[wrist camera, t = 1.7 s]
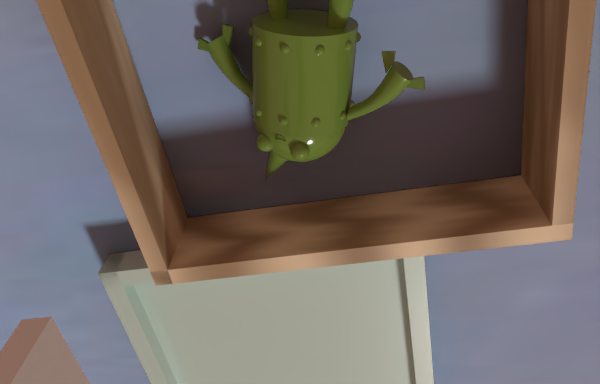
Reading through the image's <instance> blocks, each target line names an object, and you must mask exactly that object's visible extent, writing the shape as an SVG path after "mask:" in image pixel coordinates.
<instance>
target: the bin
mask: <svg viewBox="0 0 600 384" xmlns="http://www.w3.org/2000/svg"><path fill="white" fill-rule="evenodd" d="M36 1H37V3H38V6H39V8H40V11H41V13H42V15H43V18H44V20H45V23H46V25H47V27H48V30H49V32H50V35H51V37H52V39H53V42H54V44H55V46H56V49H57V51H58V54H59V56H60V58H61V61H62V63H63V66H64V68H65V70H66V73H67V75H68V77H69V80H70V82H71V85H72V87H73V89H74V92H75V94H76V97H77V99H78V101H79V104H80V106H81V108H82V111H83V113H84V116H85V118H86V120H87V123H88V125H89V128H90V130H91V132H92V135H93V137H94V139H95V142H96V144H97V147H98V149H99V151H100V154H101V156H102V159H103V161H104V163H105V166H106V168H107V170H108V173H109V175H110V178H111V180H112V182H113V185H114V187H115V190H116V192H117V194H118V197H119V199H120V201H121V204H122V206H123V209H124V211H125V213H126V216H127V218H128V221H129V223H130V225H131V228H132V230H133V233H134V235H135V237H136V240H137V242H138V244H139V247H140V249H141V252H142V254H143V256H144V259H145V261H146V264H147V266H148V268H149V271H150V273H151V275H152V278H153V280H154V283H155V285H156V286H159V285H168V284H177V283H186V282H195V281H203V280H212V279H221V278H230V277H239V276H248V275H257V274H266V273H275V272H284V271H293V270H302V269H311V268H320V267H329V266H338V265H347V264H356V263H365V262H374V261H383V260H392V259H401V258H409V257H418V256H427V255H436V254H445V253H454V252H463V251H472V250H481V249H490V248H499V247H508V246H517V245H526V244H535V243H544V242H553V241H562V240H571V239H572V231H573V221H574V211H575V202H576V192H577V182H578V172H579V163H580V153H581V143H582V134H583V124H584V114H585V104H586V95H587V85H588V75H589V65H590V56H591V46H592V36H593V27H594V17H595V7H596V0H528V10H527V36H526V61H525V87H524V113H523V138H522V164H521V175H519V176H511V177H503V178H495V179H487V180H480V181H472V182H464V183H456V184H448V185H441V186H433V187H425V188H417V189H409V190H401V191H394V192H386V193H378V194H370V195H362V196H355V197H347V198H339V199H331V200H323V201H315V202H308V203H300V204H292V205H284V206H276V207H269V208H261V209H253V210H245V211H237V212H229V213H222V214H214V215H206V216H198V217H190V218H188V217H187V214H186V211H185V208H184V205H183V203H182V200H181V197H180V194H179V191H178V188H177V185H176V182H175V180H174V177H173V174H172V171H171V168H170V165H169V162H168V159H167V157H166V154H165V151H164V148H163V145H162V142H161V139H160V137H159V134H158V131H157V128H156V125H155V122H154V119H153V116H152V114H151V111H150V108H149V105H148V102H147V99H146V96H145V93H144V91H143V88H142V85H141V82H140V79H139V76H138V73H137V70H136V68H135V65H134V62H133V59H132V56H131V53H130V50H129V48H128V45H127V42H126V39H125V36H124V33H123V30H122V27H121V25H120V22H119V19H118V16H117V13H116V10H115V7H114V4H113V2H112V0H36Z"/></svg>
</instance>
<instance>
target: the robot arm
mask: <svg viewBox="0 0 600 384" xmlns="http://www.w3.org/2000/svg"><path fill="white" fill-rule="evenodd" d="M0 384H90V383H89V381H88V379H87V378H86V376H85V374H84V372H83V371H82V369H81V367H80V365H79V364H78V362H77V360H76V359H75V357H74V355H73V353H72V352H71V350H70V348H69V346H68V345H67V343H66V341H65V340H64V338H63V336H62V334H61V333H60V331H59V329H58V327H57V326H56V324H55V322H54V321H53V319H52V317H45V318H35V319H25V320H21V322H20V323H19V325H18V326H17V328H16V329H15V331H14V332H13V334H12V335H11V337H10V338H9V340H8V341H7V343H6V344H5V346H4V347H3V349H2V350H1V352H0Z"/></svg>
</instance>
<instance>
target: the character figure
mask: <svg viewBox="0 0 600 384" xmlns="http://www.w3.org/2000/svg"><path fill="white" fill-rule="evenodd" d="M353 1H354V0H329V8H328V11H322V10H311V9H288V0H267V4H268V10H269V11H268V12H264V13H261V14H258V15H256V16H254V17H253V18H252V27H251V28H250V29H249V35H250V36H251V37H252V84H251V83H250V82H249V81H248V80H247V78H246V77H245V76H244V75H243V73H242V72H241V70H240V68H239V66H238V64H237V62H236V60H235V58H234V55H233V53H232V50H231V48H230V46H229V45H230V41H231V38H232V34H233V30H234V27H233V26H230V25H227V24H222V28H223V35H222V36H220V37H218V38H217V39H215V40H213V41H212V42H210V43H209V42H207V41H206V40H204V39H202V38H199V43H198V49H201V50H205V51H209V53H210V55H211V57H212V59H213V60H214V62H215V63H216V64H217V66H218V67H219V68H220V70H221V71H222V73H223V74H224V75H225V76H226V77H227V78H228V79H229V80H230V81H231V82H232V83H233V84H234V85H235V86H236V87H238V88H239V89H240V90H241V91H242V92H243V93H244V94H245V95H247V96H248V97H249V98H250V99H249V100H250V103H251V104H253V119H254V124H255V127H256V131H257V133H258V135H259V136H258V137H257V140H256V145H257V147H258V148H259V149H260V150H261V151H265V152H267V151H269V156H268V163H267V170H266V177H265V180H266V179H267V178H268V177H269V176H270V175H271V174H273V173H274V172H275V171H276V170H277V169H278V168H279V167H281V166H282V165H283V164H284V163H285V162H286V161H287V160H288V161H294V162H308V161H312V160H316V159H319V158H321V157H323V156H325V155H326V154H328V153H329V152H330V151H331V150H332V149H334V148H335V147H336V145H337V144H338V143H339V141H340V140H341V138H342V136H343V134H344V132H345V129H346V126H347V124H348V123H349V120H351V119H354V118H357V117H360V116H363V115H365V114H368V113H370V112H372V111H375V110H377V109H379V108H380V107H382V106H384V105H386V104H388V103H389V102H391V101H392V100H393V99H394V98H396V97H397V96H398V95H400V94H401V93H402V92H403V91H404V89H405V88H406V87H407V88H414V89H422V90H424V89H425V81H424V77H418V78H413V76H412V74H411V72H410V71H409V70H408V68H407V67H406V66H404V65H403V64H402V63H400V62H394V59H395V52H396V51H382V57H383V62H384V67H385V72H386V73H387V71H388V70H389V69H390V70H389V71H388V73H387V75H386V76H385V78H384V79H383V81H382V82H381V84H380V85H379V86H378V88H377V89H376V90H375V91H374V93H373V94H372V95H371V96H370V97H369V98H367V99H366V100H364V101H363V102H361V103H358V104H356V105H354V102H353V101H352V100H351V96H352V85H353V74H354V63H355V52H356V42H358V41H359V40H360V39H361V35H360V34H359V33H358V32H357V30H358V23H357V21H355V20H354V19H352V18H350V17H349V15H350V12H351V9H352V6H353ZM390 67H391V68H390Z"/></svg>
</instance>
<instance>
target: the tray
mask: <svg viewBox="0 0 600 384" xmlns="http://www.w3.org/2000/svg"><path fill="white" fill-rule="evenodd" d="M98 275H99V277H100V279H101V281H102V283H103V285H104V287H105V289H106V292H107V294H108V296H109V298H110V300H111V302H112V304H113V306H114V308H115V310H116V312H117V314H118V316H119V318H120V320H121V322H122V324H123V327H124V329H125V331H126V333H127V335H128V337H129V339H130V341H131V343H132V345H133V347H134V349H135V351H136V353H137V355H138V357H139V359H140V362H141V364H142V366H143V368H144V370H145V372H146V374H147V376H148V378H149V380H150V382H151V384H434V381H433V368H432V355H431V342H430V328H429V315H428V302H427V289H426V275H425V262H424V256H418V257H409V258H401V259H392V260H383V261H374V262H365V263H356V264H347V265H338V266H329V267H320V268H311V269H302V270H293V271H284V272H275V273H266V274H257V275H248V276H239V277H230V278H221V279H212V280H203V281H195V282H186V283H177V284H168V285H159V286H156V285H155V283H154V280H153V278H152V275H151V273H150V271H149V268H148V266H147V264H146V261H145V259H144V256H143V254H142V252H141V250H137V251H129V252H121V253H112V254H109V255H108V257H107V258H106V260H105V262H104V264H103V266H102V268H101V269H100V271H99V273H98Z"/></svg>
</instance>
